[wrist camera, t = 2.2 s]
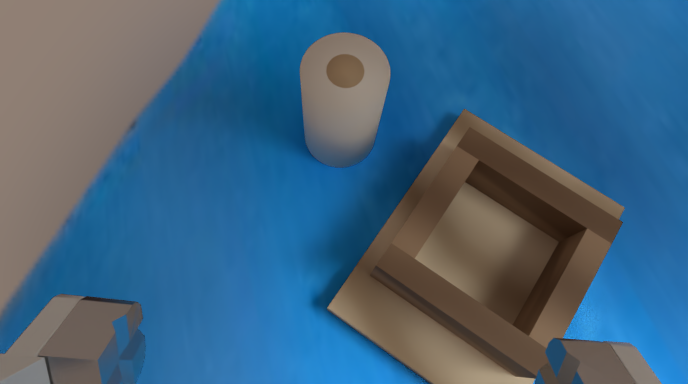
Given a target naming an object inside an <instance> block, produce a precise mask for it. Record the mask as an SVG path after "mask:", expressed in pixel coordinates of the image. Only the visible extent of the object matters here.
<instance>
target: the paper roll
mask: <svg viewBox="0 0 688 384" xmlns="http://www.w3.org/2000/svg"><path fill="white" fill-rule="evenodd" d="M300 81H301V94H302V108H303V121H304V135H305V142H306V145H307V148H308V150H309V151H310V153H311V154H312V155H313V156H314V157H315V158H316V159H317V160H318V161H320V162H321V163H323V164H325V165H328V166H331V167H337V168H343V167H349V166H353V165H355V164H357V163H359V162H361V161H362V160H364V159H365V158H366V157H367V156H368V154H369V153H370V152H371V150H372V148H373V145H374V142H375V138H376V134H377V130H378V126H379V122H380V118H381V114H382V110H383V106H384V102H385V98H386V94H387V90H388V86H389V82H390V65H389V62H388V59H387V57H386V55H385V54H384V52H383V51H382V50H381V48H380V47H379V46H378V45H377V44H375V43H374V42H373V41H371V40H370V39H368V38H366V37H363V36H361V35H358V34H353V33H335V34H330V35H327V36H325V37H322V38H320V39H319V40H317V41H316V42H314V43H313V44H312V45H311V46H310V47H309V48H308V49H307V51H306V52H305V54H304V56H303V58H302V61H301V65H300Z"/></svg>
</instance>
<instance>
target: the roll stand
mask: <svg viewBox="0 0 688 384" xmlns="http://www.w3.org/2000/svg"><path fill="white" fill-rule="evenodd" d="M624 209H625V208H624V207H623V206H621V205H620V204H618V203H616V202H615V201H613V200H612V199H610V198H608V197H607V196H605V195H603V194H602V193H600V192H599V191H597V190H595V189H594V188H592V187H590V186H589V185H587V184H586V183H584V182H582V181H581V180H579V179H578V178H576V177H574V176H573V175H571V174H569V173H568V172H566V171H565V170H563V169H561V168H560V167H558V166H556V165H555V164H553V163H552V162H550V161H548V160H547V159H545V158H543V157H542V156H540V155H539V154H537V153H535V152H534V151H532V150H531V149H529V148H527V147H526V146H524V145H522V144H521V143H519V142H518V141H516V140H514V139H513V138H511V137H509V136H508V135H506V134H505V133H503V132H501V131H500V130H498V129H497V128H495V127H493V126H492V125H490V124H488V123H487V122H485V121H484V120H482V119H480V118H479V117H477V116H475V115H474V114H472V113H471V112H469V111H467V110H466V109H464V110H463V111H462V113H461V114H460V116H459V117H458V119H457V120H456V122H455V123H454V124H453V126H452V127H451V129H450V130H449V132H448V133H447V135H446V136H445V138H444V139H443V140H442V142H441V143H440V145H439V146H438V148H437V149H436V151H435V152H434V154H433V155H432V156H431V158H430V159H429V161H428V162H427V164H426V165H425V167H424V168H423V169H422V171H421V172H420V174H419V175H418V177H417V178H416V180H415V181H414V183H413V184H412V185H411V187H410V188H409V190H408V191H407V193H406V194H405V196H404V197H403V199H402V200H401V201H400V203H399V204H398V206H397V207H396V209H395V210H394V212H393V213H392V214H391V216H390V217H389V219H388V220H387V222H386V223H385V225H384V226H383V228H382V229H381V230H380V232H379V233H378V235H377V236H376V238H375V239H374V241H373V242H372V243H371V245H370V246H369V248H368V249H367V251H366V252H365V254H364V255H363V257H362V258H361V259H360V261H359V262H358V264H357V265H356V267H355V268H354V270H353V271H352V273H351V274H350V275H349V277H348V278H347V280H346V281H345V283H344V284H343V286H342V287H341V288H340V290H339V291H338V293H337V294H336V296H335V297H334V299H333V300H332V302H331V303H330V304H329V306H328V307H327V310H328V311H330V312H331V313H333V314H334V315H335V316H337V317H338V318H340V319H341V320H342V321H344V322H345V323H347V324H348V325H349V326H351V327H352V328H353V329H355V330H356V331H358V332H359V333H360V334H362V335H363V336H365V337H366V338H367V339H369V340H370V341H372V342H373V343H374V344H376V345H377V346H379V347H380V348H381V349H383V350H384V351H386V352H387V353H388V354H390V355H391V356H393V357H394V358H395V359H397V360H398V361H400V362H401V363H402V364H404V365H405V366H406V367H408V368H409V369H411V370H412V371H413V372H415V373H416V374H418V375H419V376H420V377H422V378H423V379H425V380H426V381H427V382H429V383H430V384H533V382H534V380H535V379H536V377H537V373H538V370H539V369H540V368H541V367H542V366H544V365H545V364H547V363H548V362H549V360H548V358H547V356H546V354H545V351H546V348H547V346H548V343H549V342H550V341H551V340H552V339H553V338H563V336H564V334H565V332H566V330H567V328H568V327H569V325H570V323H571V321H572V319H573V317H574V315H575V313H576V311H577V309H578V307H579V305H580V303H581V302H582V300H583V298H584V296H585V294H586V292H587V290H588V288H589V286H590V284H591V282H592V280H593V279H594V277H595V275H596V273H597V271H598V269H599V267H600V265H601V263H602V261H603V259H604V257H605V256H606V254H607V252H608V250H609V248H610V246H611V244H612V242H613V240H614V238H615V236H616V234H617V233H618V231H619V229H620V227H621V225H622V223H623V222H622V221H620V220H619V218H620V216H621V214H622V212H623V210H624Z"/></svg>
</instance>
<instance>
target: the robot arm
mask: <svg viewBox="0 0 688 384" xmlns="http://www.w3.org/2000/svg"><path fill="white" fill-rule="evenodd" d="M142 319H143V316H142V309H141V305H140V304H139V303H138V302H134V301H125V300H116V299H107V298H97V297H88V296H87V297H83V296H75V295H65V294H60V295H57V296H55V297H53V298H52V299H51V300H50V302H49V303H48V304H47V305H46V306H45V307H44V309H43V310H42V311H41V312H40V313H39V314H38V316H37V317H36V318H35V319H34V320H33V321H32V323H31V324H30V325H29V326H28V327H27V328H26V330H25V331H24V332H23V333H22V334H21V335H20V337H19V338H18V339H17V340H16V341H15V342H14V344H13V345H12V346H11V347H10V348H9V349H8V351H7V352H6V353H5V354H0V384H136V382H137V380H138V378H139V375H140V373H141V370H142V366H143V363H144V359H145V348H146V344H145V336H144V335H143V334H142V333H141V331H140V330H139V329H138V326H139V325H140V323H141V321H142ZM545 354H546V356H547V358H548V360H549V362H548V363H547V364H545V365H544V366H542V367H541V368H540V369H539V370H538V373H537V377H536V380H535V384H661V382H660V381H659V379H658V378H657V376H656V375H655V374H654V372H653V371H652V369H651V368H650V367H649V365H648V364H647V362H646V361H645V360H644V358H643V357H642V355H641V354H640V353H639V351H638V350H637V348H636V347H635V346H633V345H632V344H630V343H624V342H609V341H603V342H600V341H589V340H576V339H564V338H553V339H552V340H551V341H550V342H549V343H548V346H547V348H546V351H545Z"/></svg>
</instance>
